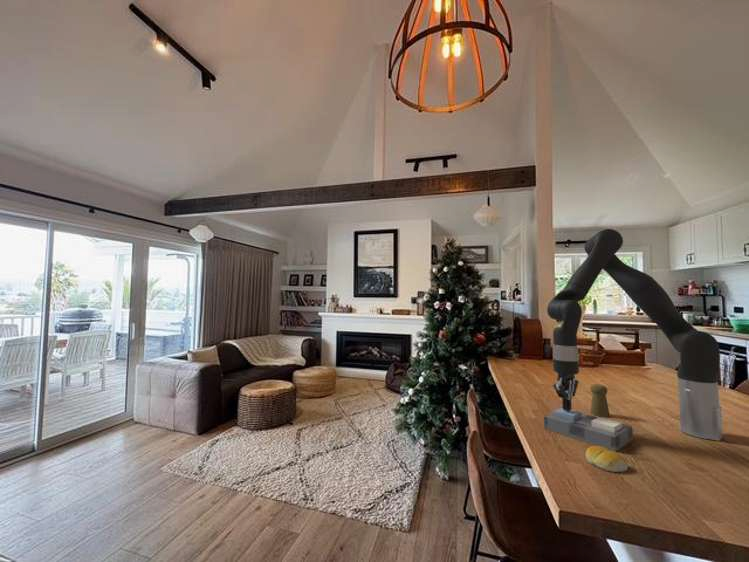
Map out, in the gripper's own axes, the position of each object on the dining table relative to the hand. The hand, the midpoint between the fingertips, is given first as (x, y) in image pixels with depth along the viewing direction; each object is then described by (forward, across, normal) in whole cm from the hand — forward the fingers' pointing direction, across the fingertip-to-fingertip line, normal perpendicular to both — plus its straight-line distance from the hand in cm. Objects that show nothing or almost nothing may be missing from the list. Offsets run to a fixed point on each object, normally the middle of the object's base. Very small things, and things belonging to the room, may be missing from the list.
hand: (567, 410), depth 108 cm
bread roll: (+6, -17, -17) cm, 25 cm away
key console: (+6, 0, -6) cm, 8 cm away
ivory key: (+3, 0, -11) cm, 12 cm away
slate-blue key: (+3, 0, 0) cm, 3 cm away
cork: (+6, +24, -1) cm, 25 cm away
